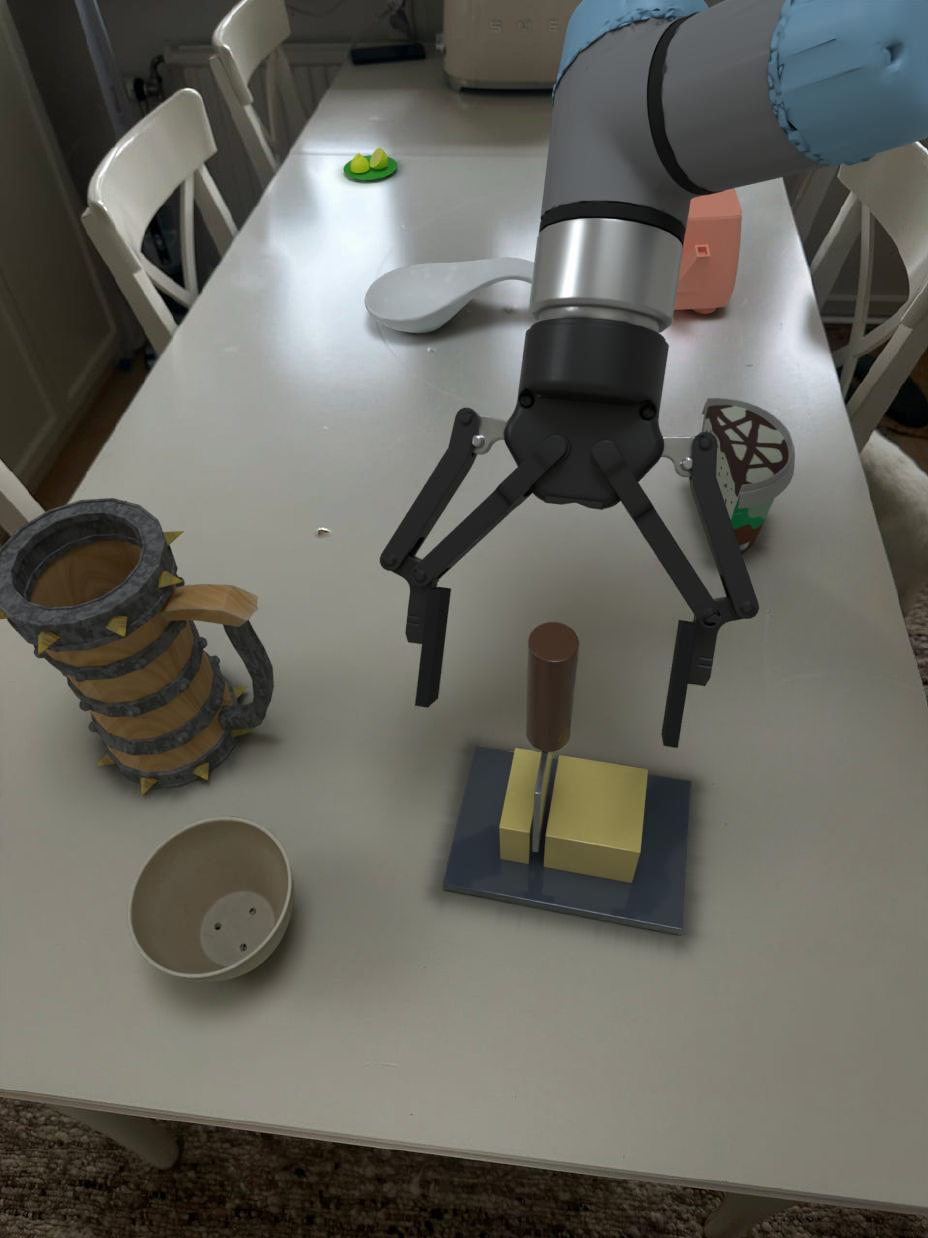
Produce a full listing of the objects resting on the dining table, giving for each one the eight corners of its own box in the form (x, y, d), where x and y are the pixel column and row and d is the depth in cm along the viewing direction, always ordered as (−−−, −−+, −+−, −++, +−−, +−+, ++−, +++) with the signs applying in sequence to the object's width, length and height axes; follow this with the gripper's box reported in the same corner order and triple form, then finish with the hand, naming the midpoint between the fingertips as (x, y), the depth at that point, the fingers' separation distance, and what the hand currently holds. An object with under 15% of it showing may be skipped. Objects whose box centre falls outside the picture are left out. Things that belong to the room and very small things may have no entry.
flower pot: (173, 868, 61) (138, 824, 55) (314, 853, 61) (294, 808, 56) (154, 1018, 55) (113, 986, 49) (311, 1001, 55) (288, 967, 49)
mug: (132, 655, 73) (29, 478, 58) (328, 676, 71) (276, 498, 55) (65, 792, 65) (-75, 629, 50) (283, 821, 63) (208, 660, 47)
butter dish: (689, 787, 63) (703, 745, 58) (680, 935, 57) (695, 902, 52) (475, 751, 66) (472, 709, 61) (443, 890, 59) (437, 854, 55)
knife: (572, 747, 59) (588, 586, 46) (555, 856, 55) (568, 710, 41) (534, 741, 60) (540, 579, 47) (514, 848, 55) (514, 702, 42)
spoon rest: (360, 347, 100) (351, 290, 94) (376, 291, 107) (369, 235, 102) (565, 351, 98) (568, 293, 92) (568, 294, 105) (571, 237, 99)
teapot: (741, 345, 97) (770, 221, 86) (628, 350, 97) (642, 226, 86) (707, 245, 110) (728, 127, 99) (607, 249, 111) (618, 132, 100)
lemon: (386, 154, 131) (384, 134, 129) (405, 175, 126) (403, 155, 124) (336, 166, 129) (333, 146, 127) (354, 188, 125) (351, 168, 123)
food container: (789, 568, 76) (821, 483, 68) (720, 574, 76) (744, 489, 68) (750, 474, 84) (775, 388, 76) (687, 479, 84) (705, 393, 76)
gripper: (829, 363, 47) (766, 741, 50) (388, 325, 51) (352, 676, 54) (867, 333, 40) (790, 778, 42) (349, 291, 44) (309, 699, 46)
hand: (545, 721), depth 48 cm, fingers open, 13 cm apart
